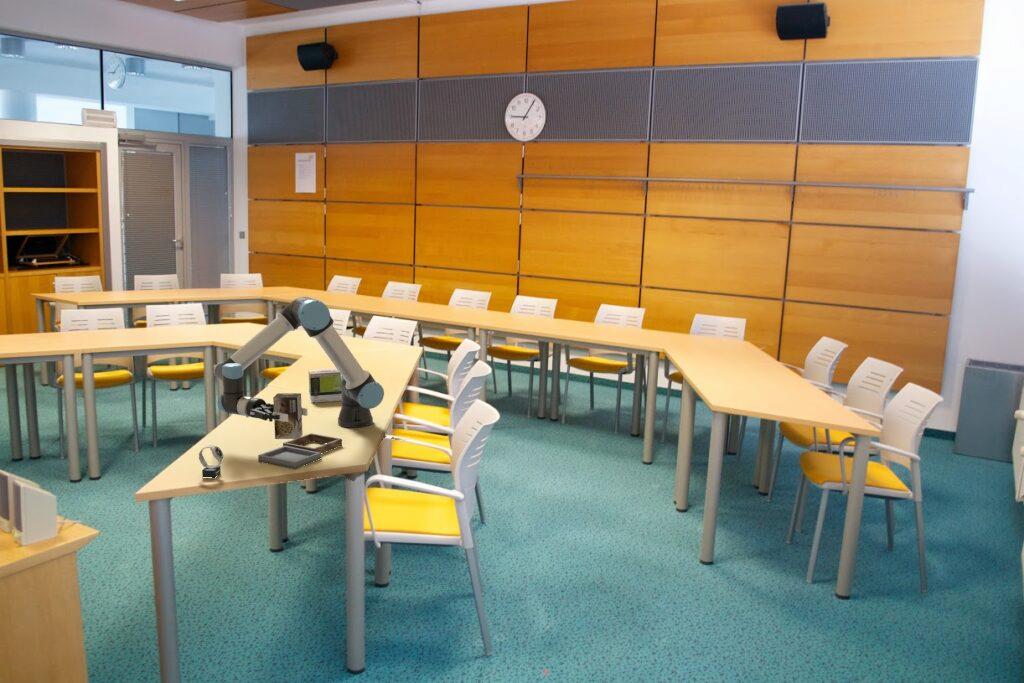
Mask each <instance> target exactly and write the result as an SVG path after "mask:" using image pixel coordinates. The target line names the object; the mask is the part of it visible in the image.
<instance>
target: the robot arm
mask: <svg viewBox="0 0 1024 683" xmlns="http://www.w3.org/2000/svg"><path fill="white" fill-rule="evenodd" d="M334 323H335V320H334V319H333V318H332V316H331V311H330V309H329V307H328V305H327V304H325V303H324V302H323V301H322V300H319V299H316V298H312V297H308V296H300V297H297V298H295V299H293V300H292V301H291V302H289V303H288V304H287V305H286V306H285V307H283V308H282V309H281V310H279V312H278V313H277V317H275V318H274V319H273V320H272V321H271V322H270V323H268V324H267V325H266V326H265V327H264V328H262V329H261V330H260V331H259V332H258V333H257V334H255V335H254V336H253V337H252V338H251V339H249V340H248V341H247V342H246V343H244V345H242V346H241V347H240V348H239V349H237V350H236V351H235V352H234V353H233V354H232V355H231V356H229V357H227V359H226V360H224V361H221V362H218V363H217V364H215V366H214V368H213V375H214V377H215V378H216V380H217V381H219V382H221V383H222V388H223V389H222V390H223V391H222V392H223V393H221V395H219V397H218V400H217V408H218V409H219V410H220V411H221V412H224V413H227V414H230V415H231V414H232V415H237V416H238V415H239V416H244V417H246V418H254V419H259V420H262V421H266V422H267V421H268V422H273V421H274V420H278V421H284V422H288V414H283V413H277V412H274V403H268V402H266V401H265V399H263V398H259V397H254V396H247V395H245V393H244V392H245V390H244V389H245V388H244V385H245V384H244V374H245V373H244V371H245V369H247V368H248V367H249V366H251V364H253V363H254V362H255V361H256V360H257V359H258V358H260V357H261V356H262V355H263V354H264V353H266V352H267V351H268V350H269V349H270V348H271V347H273V346H274V345H275V344H276V343H278V342H279V341H280V340H281V339H282V338H283V337H285V336H286V335H287V334H288V333H289V332H291V331H292V332H294V331H295V330H297V329H298V328H300V327H301V328H303V330H304V331H305V333H306V334H307V335H308V337H310V338H313V339H315V341H317V343H318V344H319V346H320V347H321V348H322V350H323V351H324V353H325V354H326V356H327V357H328V358H329V359H330V361H331V362H332V364H333V366H335V369H338V371H339V372H340V374H341V396H342V401H341V408H340V410H339V414H338V418H337V425H338V424H339V426H340V425H341V427H343V426H344V427H345V428H363V427H368V426H370V425H373V423H374V422H373V421H374V420H373V419H374V418H373V416H372V412H371V409H375V408H377V407H378V406H379V405H380V404H381V403H382V402H383V400H384V396H385V390H384V388H383V386H382V384H380V383H379V382H377V381H376V380H375V378H374V377H373V376H372V374H371V373H370V371H369V370H364V369H363V367H362V366H361V364H360V363H359V362H358V360H357V359H356V357H355V356H354V355H353V353H352V351H351V350H350V348H349V347H348V346H347V344H346V343H345V342H344V340H343V338H342V337H341V336H340V334H339V333H338V331H337V330H336V328H335V327H334ZM302 416H304V417H305V416H306V417H307V416H308V408H307V407H302Z"/></svg>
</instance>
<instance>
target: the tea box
mask: <svg viewBox="0 0 1024 683" xmlns="http://www.w3.org/2000/svg"><path fill="white" fill-rule="evenodd" d="M341 376H342V375H341V374H340V372H339V371H338V369H337V368H329V369H327V368H326V369H311V370H310V369H309V370H308V388H309V389H308V390H309V391H308V392H309V394H308V395H309V399H310V402H311V403H313V402H315V403H323V402H324V403H327V402H342V396H341Z"/></svg>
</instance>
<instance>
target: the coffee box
mask: <svg viewBox="0 0 1024 683" xmlns="http://www.w3.org/2000/svg"><path fill="white" fill-rule="evenodd" d="M272 399H273V403H272V404H274V412H277V413H283V414H288V422H284V421H278V420H273V421H274V439H275V440H293V439H299V438H300V437H301V436H304V435H303V415H302V408H303V407H302V406H303V405H302V393H301V392H299V393H298V392H297V393H296V392H295V393H293V392H292V393H286V392H285V393H284V392H282V393H276V394H275V395H274V396H273V397H272Z"/></svg>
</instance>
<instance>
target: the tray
mask: <svg viewBox="0 0 1024 683" xmlns="http://www.w3.org/2000/svg"><path fill="white" fill-rule="evenodd" d="M257 458H258V459H257V460H258V461H259V463H262V462H263V464H267V463H268V465H273V466H276V467H277V466H278V467H280V468H286V469H291V468H292V469H291V470H297V468H298V469H300V468H303V467H305V466H307V465H306V464H308V465H309V463H310V464H312V463H311V462H313V461H315V462H317V461H316V460H318V459H320V458H321V459H322V454H321V453H320V452H315V451H310V450H304V449H299V448H294V447H289V446H283V445H282V446H280V447H277V448H274V449H272V450H269V451H266V452H263V453H261V454H258V456H257ZM321 459H320V460H321ZM258 461H257V462H258ZM318 461H319V460H318ZM313 463H314V462H313ZM304 465H305V466H304ZM302 466H303V467H302ZM299 467H300V468H299Z"/></svg>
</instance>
